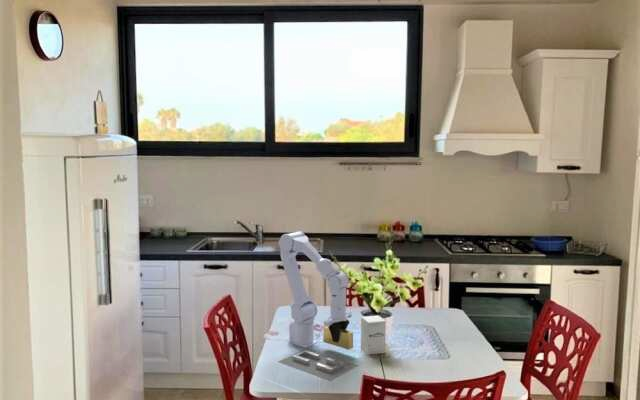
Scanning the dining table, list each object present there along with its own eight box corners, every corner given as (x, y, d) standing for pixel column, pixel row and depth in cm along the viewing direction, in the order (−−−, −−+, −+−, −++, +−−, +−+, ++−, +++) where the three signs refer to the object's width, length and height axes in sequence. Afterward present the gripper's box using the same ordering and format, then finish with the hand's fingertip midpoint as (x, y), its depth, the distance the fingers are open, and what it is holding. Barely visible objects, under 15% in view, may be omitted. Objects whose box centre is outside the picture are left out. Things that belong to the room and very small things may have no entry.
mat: (278, 362, 185) (278, 361, 185) (307, 349, 197) (307, 348, 197) (330, 382, 169) (330, 380, 169) (358, 366, 182) (358, 365, 182)
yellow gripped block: (323, 341, 196) (323, 326, 196) (327, 339, 198) (327, 324, 198) (348, 349, 189) (348, 334, 188) (352, 347, 191) (353, 332, 190)
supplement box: (367, 355, 191) (367, 322, 190) (360, 348, 198) (360, 316, 197) (385, 353, 193) (386, 320, 192) (378, 346, 200) (378, 314, 199)
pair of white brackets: (292, 359, 186) (292, 355, 186) (305, 353, 192) (305, 349, 191) (331, 373, 175) (331, 369, 174) (344, 366, 180) (344, 362, 180)
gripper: (334, 312, 184) (334, 348, 185) (358, 302, 195) (357, 337, 196) (319, 308, 188) (319, 343, 190) (343, 299, 199) (343, 332, 201)
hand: (337, 340), depth 193 cm, fingers closed on yellow gripped block, 3 cm apart
